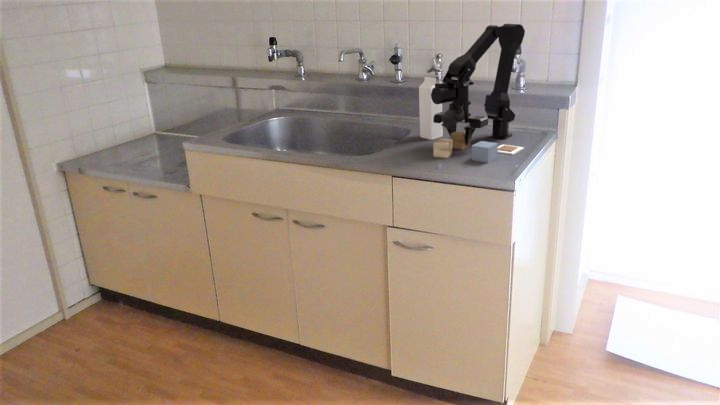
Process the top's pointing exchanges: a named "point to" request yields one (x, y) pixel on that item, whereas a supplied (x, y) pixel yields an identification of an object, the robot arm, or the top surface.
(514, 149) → the swatch
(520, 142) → the top surface
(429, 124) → the milk
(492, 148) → the base block
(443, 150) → the maple block
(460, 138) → the walnut block
